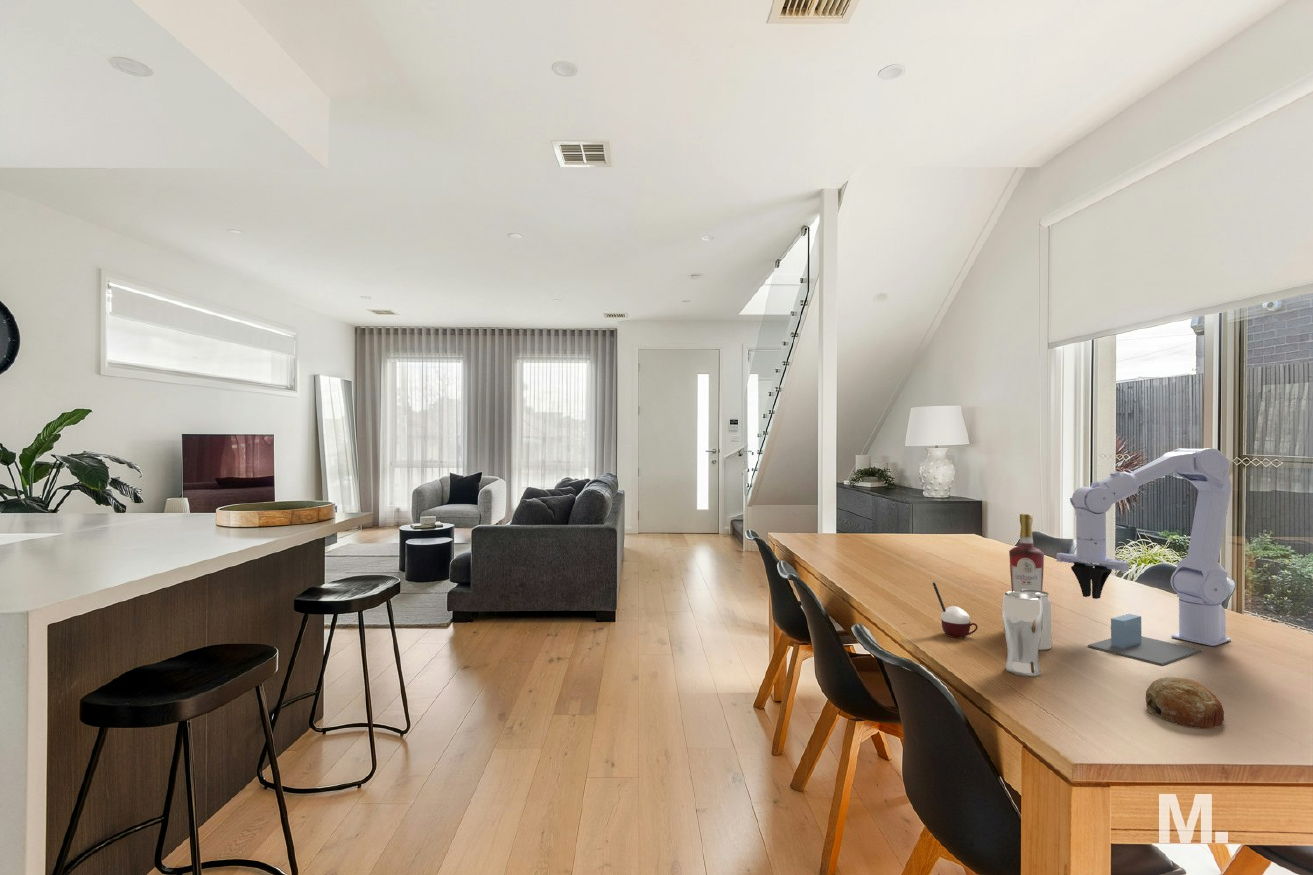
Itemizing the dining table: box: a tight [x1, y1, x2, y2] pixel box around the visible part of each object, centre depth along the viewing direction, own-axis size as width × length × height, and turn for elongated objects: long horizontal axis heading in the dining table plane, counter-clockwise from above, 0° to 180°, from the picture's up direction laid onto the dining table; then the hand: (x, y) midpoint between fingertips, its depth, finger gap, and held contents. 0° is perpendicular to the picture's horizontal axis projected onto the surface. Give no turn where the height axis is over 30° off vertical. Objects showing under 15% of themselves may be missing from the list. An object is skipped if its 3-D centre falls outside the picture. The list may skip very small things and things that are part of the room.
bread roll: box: [1145, 676, 1225, 730], centre depth 105 cm, size 10×10×8 cm
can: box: [1020, 590, 1052, 651], centre depth 141 cm, size 6×6×12 cm
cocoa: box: [932, 580, 978, 639], centre depth 149 cm, size 10×6×12 cm, turn 41°
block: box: [1110, 613, 1142, 649], centre depth 141 cm, size 8×3×6 cm, turn 120°
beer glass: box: [1001, 591, 1043, 678], centre depth 125 cm, size 7×7×15 cm
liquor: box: [1008, 513, 1045, 592], centre depth 154 cm, size 7×7×28 cm
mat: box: [1087, 635, 1203, 666], centre depth 139 cm, size 18×14×1 cm
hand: (1091, 597), depth 147 cm, fingers closed
